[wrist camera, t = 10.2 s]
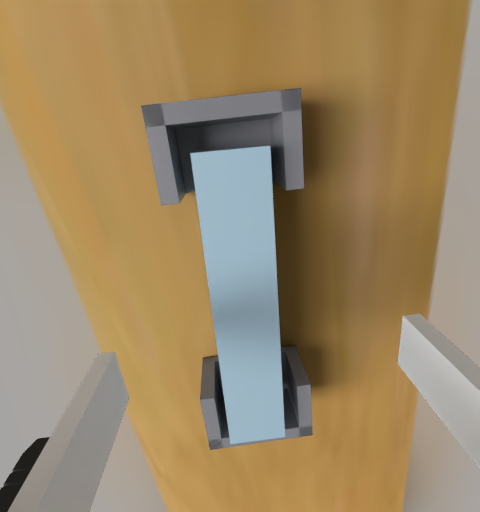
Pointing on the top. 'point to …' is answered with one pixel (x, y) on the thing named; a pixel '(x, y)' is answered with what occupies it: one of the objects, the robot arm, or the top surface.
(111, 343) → the top surface
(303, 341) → the top surface
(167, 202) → the end caps
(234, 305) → the slat
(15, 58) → the top surface
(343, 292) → the top surface
